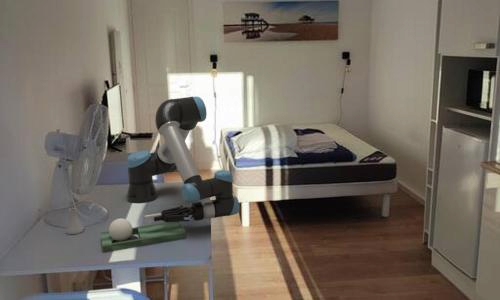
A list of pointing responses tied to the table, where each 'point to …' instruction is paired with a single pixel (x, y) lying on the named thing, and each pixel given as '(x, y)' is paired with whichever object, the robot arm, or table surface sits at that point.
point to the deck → (145, 236)
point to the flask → (74, 223)
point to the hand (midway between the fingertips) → (145, 219)
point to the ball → (120, 229)
